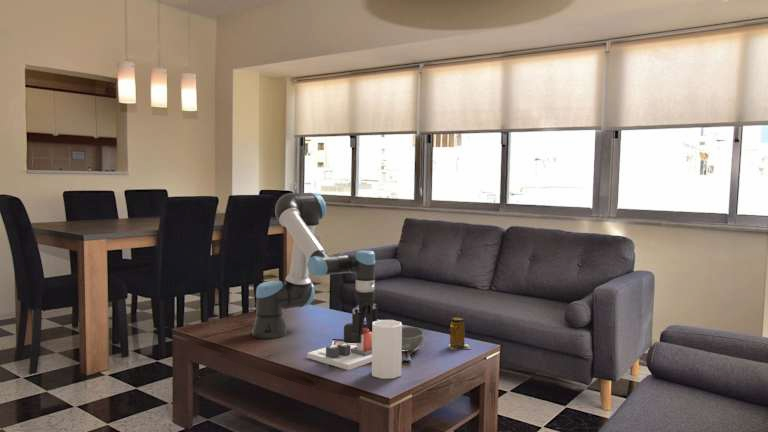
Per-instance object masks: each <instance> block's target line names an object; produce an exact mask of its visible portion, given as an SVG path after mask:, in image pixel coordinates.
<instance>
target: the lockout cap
mask: <svg viewBox="0 0 768 432" xmlns="http://www.w3.org/2000/svg"><path fill="white" fill-rule="evenodd" d="M362 335H364V340H363V351H364V352H367V351H370V350H371V348H372V332H371V331H369V328H363V331H362Z"/></svg>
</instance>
